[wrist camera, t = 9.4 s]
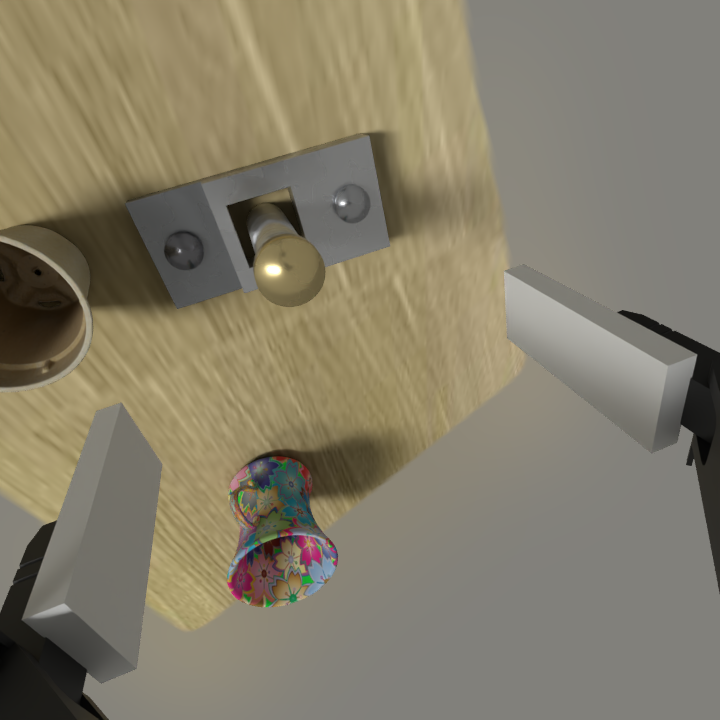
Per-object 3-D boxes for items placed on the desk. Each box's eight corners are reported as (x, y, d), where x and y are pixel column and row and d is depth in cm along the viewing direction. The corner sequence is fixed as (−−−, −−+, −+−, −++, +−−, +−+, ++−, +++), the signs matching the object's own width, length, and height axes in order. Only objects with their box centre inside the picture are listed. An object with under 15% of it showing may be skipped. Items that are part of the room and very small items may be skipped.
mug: (329, 485, 49) (355, 569, 41) (256, 528, 49) (267, 621, 41) (270, 414, 43) (287, 496, 34) (186, 464, 43) (180, 559, 34)
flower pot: (54, 173, 29) (4, 197, 22) (144, 295, 34) (127, 347, 27) (-83, 237, 29) (-180, 282, 21) (30, 350, 34) (-18, 418, 27)
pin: (233, 205, 33) (244, 251, 23) (283, 190, 33) (314, 229, 23) (251, 254, 35) (268, 315, 25) (297, 240, 35) (332, 294, 25)
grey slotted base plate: (127, 200, 31) (120, 208, 28) (359, 133, 33) (371, 136, 30) (178, 303, 35) (175, 318, 33) (380, 238, 37) (392, 248, 35)
